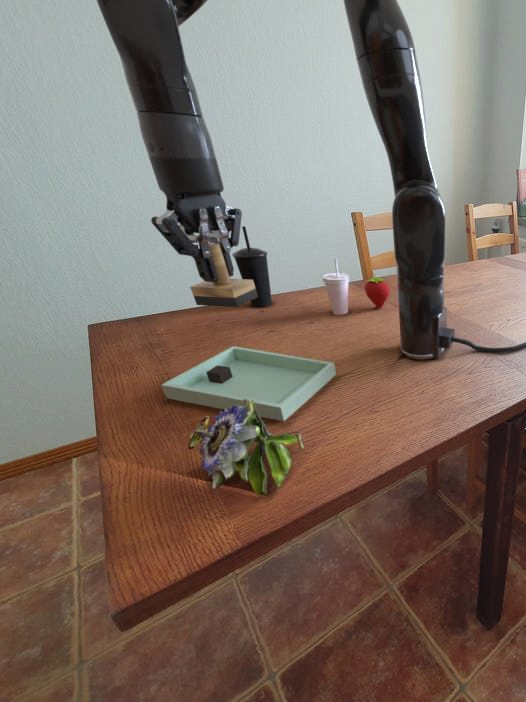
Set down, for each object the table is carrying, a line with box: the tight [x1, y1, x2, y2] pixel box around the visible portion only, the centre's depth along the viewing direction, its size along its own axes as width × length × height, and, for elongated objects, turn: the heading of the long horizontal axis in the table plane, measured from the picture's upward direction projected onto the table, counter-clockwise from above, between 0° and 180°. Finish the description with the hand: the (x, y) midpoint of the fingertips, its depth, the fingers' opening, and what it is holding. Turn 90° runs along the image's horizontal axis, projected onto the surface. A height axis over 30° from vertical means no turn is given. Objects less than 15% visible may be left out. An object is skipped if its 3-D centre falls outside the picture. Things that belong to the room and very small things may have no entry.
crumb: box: [206, 366, 232, 384], centre depth 66 cm, size 2×2×2 cm
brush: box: [189, 243, 258, 308], centre depth 59 cm, size 7×5×9 cm
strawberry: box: [364, 272, 391, 309], centre depth 100 cm, size 6×8×10 cm
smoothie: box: [322, 258, 350, 316], centre depth 95 cm, size 6×6×14 cm
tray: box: [160, 346, 337, 422], centre depth 65 cm, size 22×15×3 cm
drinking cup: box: [231, 225, 273, 308], centre depth 96 cm, size 8×8×20 cm
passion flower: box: [187, 399, 305, 497], centre depth 48 cm, size 11×11×12 cm
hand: (219, 278), depth 59 cm, fingers closed on brush, 2 cm apart
